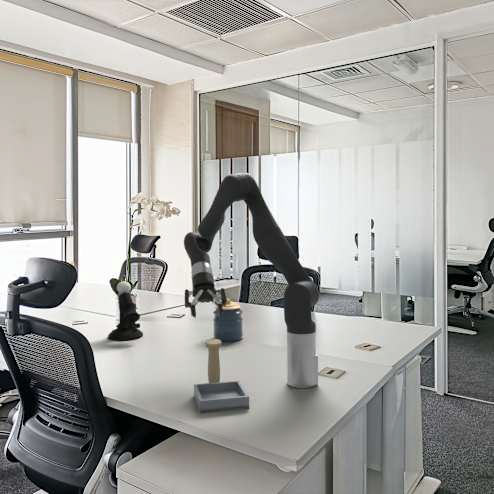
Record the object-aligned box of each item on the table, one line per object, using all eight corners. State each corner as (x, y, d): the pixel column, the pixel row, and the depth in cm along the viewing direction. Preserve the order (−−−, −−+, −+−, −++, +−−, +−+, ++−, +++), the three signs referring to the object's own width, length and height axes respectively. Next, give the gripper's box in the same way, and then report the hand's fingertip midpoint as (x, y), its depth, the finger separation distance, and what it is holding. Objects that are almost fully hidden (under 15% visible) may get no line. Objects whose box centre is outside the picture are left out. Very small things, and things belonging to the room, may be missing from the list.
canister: (209, 341, 220) (208, 300, 218) (219, 334, 232) (218, 295, 231) (237, 343, 216) (237, 301, 215) (246, 335, 228) (246, 296, 227)
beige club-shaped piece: (220, 384, 165) (219, 338, 164) (223, 391, 158) (222, 343, 157) (205, 385, 164) (204, 339, 163) (207, 392, 158) (206, 344, 157)
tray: (239, 391, 158) (239, 380, 158) (249, 408, 144) (249, 396, 144) (194, 395, 155) (193, 384, 155) (200, 413, 141) (199, 401, 141)
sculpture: (137, 331, 239) (136, 278, 238) (153, 342, 219) (151, 284, 217) (104, 335, 232) (102, 280, 230) (117, 347, 211) (116, 287, 210)
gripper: (183, 271, 177) (187, 310, 167) (223, 270, 180) (229, 308, 170) (181, 284, 182) (185, 323, 172) (221, 283, 186) (226, 320, 175)
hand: (207, 315), depth 171 cm, fingers open, 8 cm apart
